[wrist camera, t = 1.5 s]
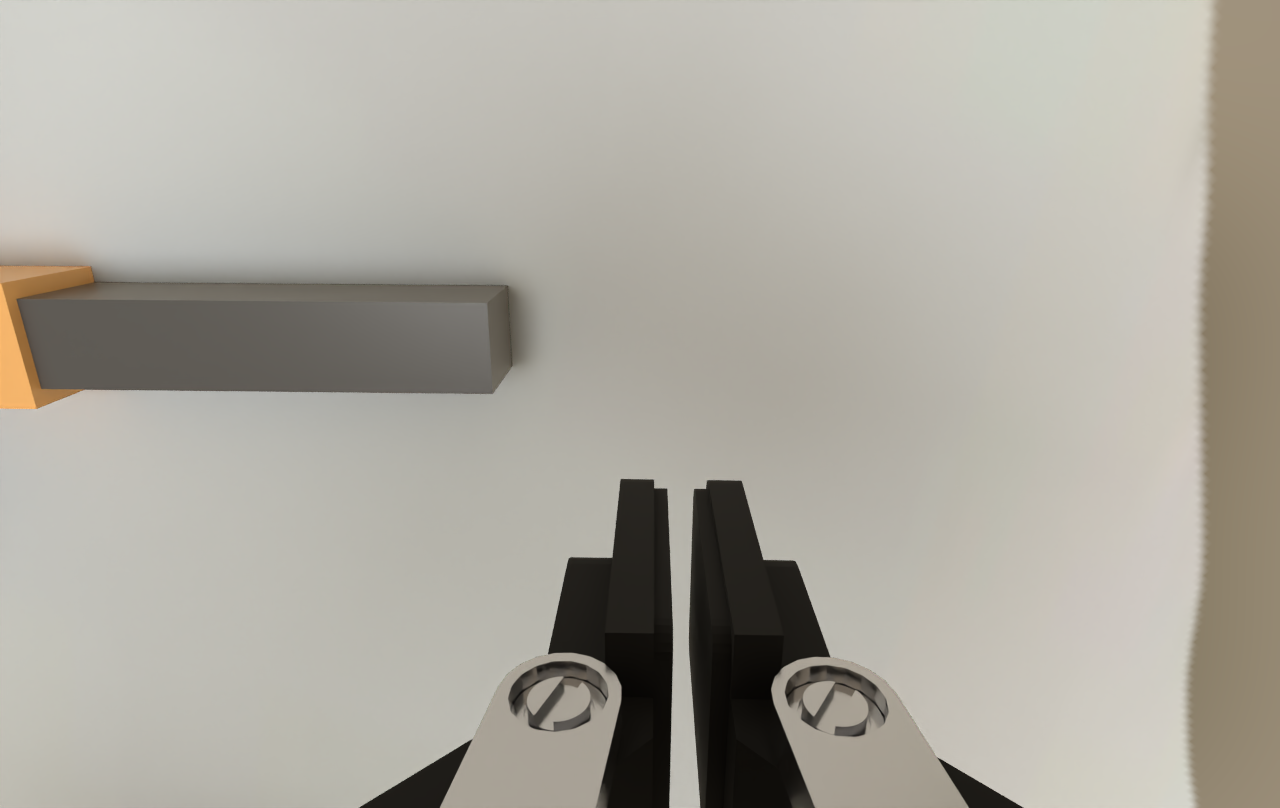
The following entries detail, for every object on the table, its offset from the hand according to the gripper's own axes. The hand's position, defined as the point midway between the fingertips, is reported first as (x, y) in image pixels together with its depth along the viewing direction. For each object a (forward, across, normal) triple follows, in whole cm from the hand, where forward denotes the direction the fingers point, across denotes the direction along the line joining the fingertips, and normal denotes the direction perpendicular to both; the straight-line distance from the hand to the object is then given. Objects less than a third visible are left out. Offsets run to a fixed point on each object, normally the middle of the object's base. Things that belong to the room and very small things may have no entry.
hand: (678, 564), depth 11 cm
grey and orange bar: (+17, +17, 0) cm, 24 cm away
